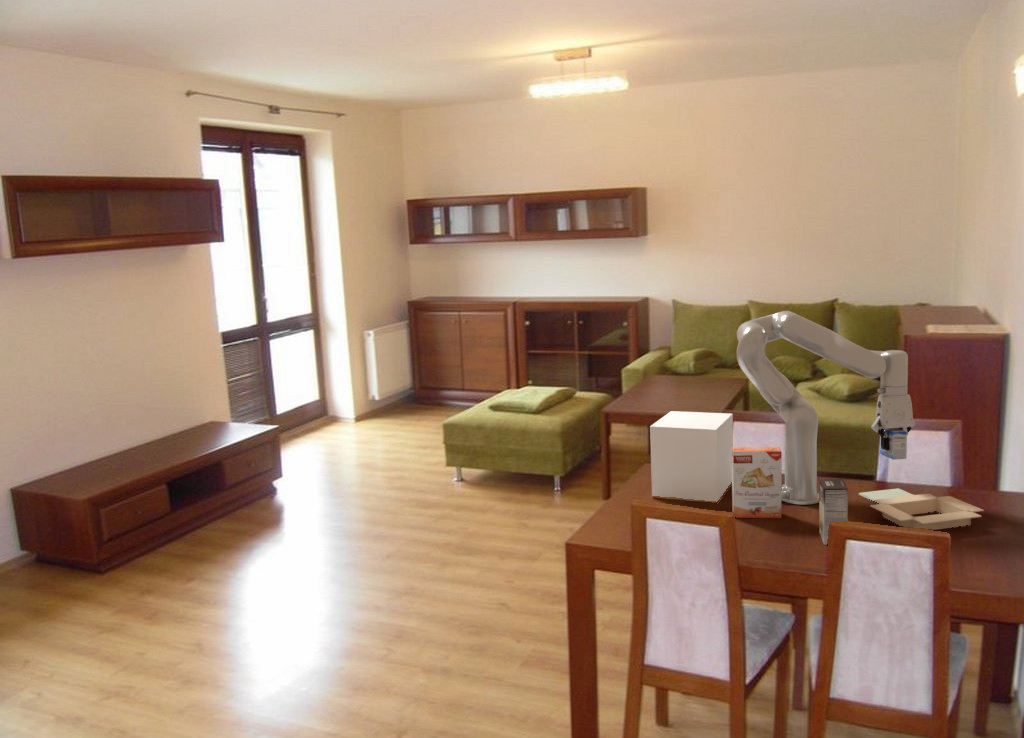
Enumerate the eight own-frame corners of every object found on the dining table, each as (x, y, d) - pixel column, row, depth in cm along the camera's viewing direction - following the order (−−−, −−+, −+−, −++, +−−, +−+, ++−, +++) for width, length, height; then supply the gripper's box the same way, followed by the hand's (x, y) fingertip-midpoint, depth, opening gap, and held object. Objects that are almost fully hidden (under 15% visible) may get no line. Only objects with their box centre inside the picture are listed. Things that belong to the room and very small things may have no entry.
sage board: (885, 507, 254) (886, 505, 254) (858, 494, 267) (858, 492, 267) (927, 502, 256) (927, 500, 256) (898, 490, 270) (898, 488, 270)
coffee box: (818, 533, 235) (818, 478, 233) (842, 534, 234) (842, 478, 232) (823, 545, 227) (823, 487, 224) (848, 545, 225) (849, 488, 223)
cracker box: (733, 518, 251) (732, 450, 248) (732, 512, 257) (731, 446, 254) (782, 519, 249) (781, 450, 246) (779, 512, 255) (779, 445, 251)
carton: (909, 538, 228) (909, 524, 227) (861, 514, 249) (861, 501, 249) (993, 528, 232) (994, 514, 232) (939, 504, 254) (940, 492, 253)
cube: (672, 478, 298) (670, 411, 294) (733, 483, 288) (732, 413, 285) (652, 499, 276) (649, 426, 272) (717, 505, 266) (716, 429, 263)
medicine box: (879, 453, 264) (879, 426, 262) (893, 452, 264) (893, 425, 263) (893, 460, 256) (893, 432, 255) (907, 458, 256) (907, 431, 255)
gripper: (876, 395, 252) (875, 454, 254) (926, 390, 255) (925, 448, 257) (861, 391, 259) (861, 448, 262) (910, 386, 262) (910, 443, 265)
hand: (893, 448), depth 259 cm, fingers closed on medicine box, 4 cm apart
